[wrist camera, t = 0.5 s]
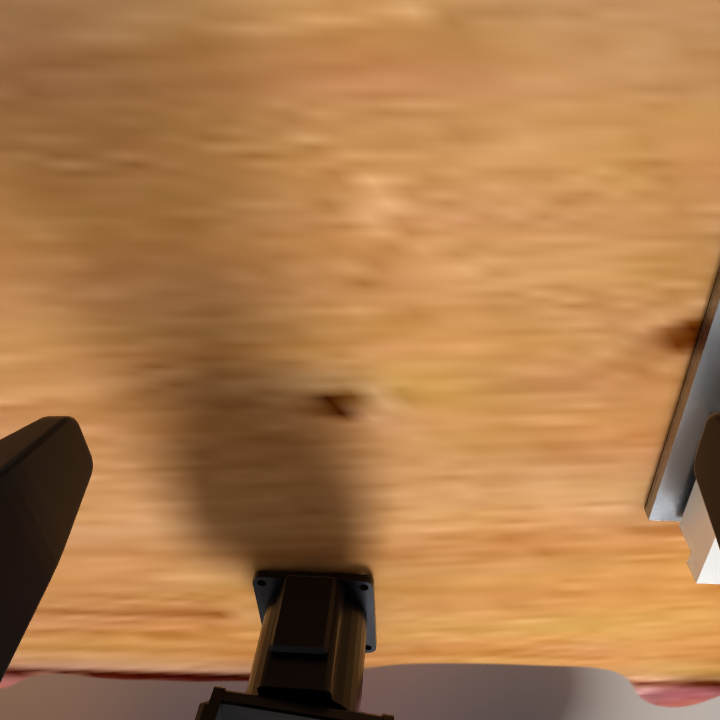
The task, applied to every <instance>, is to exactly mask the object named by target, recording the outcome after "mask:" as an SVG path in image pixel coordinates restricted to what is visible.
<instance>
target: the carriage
mask: <svg viewBox="0 0 720 720" xmlns="http://www.w3.org/2000/svg"><path fill="white" fill-rule="evenodd" d="M679 528H680V530H681V532H682V534H683V536H684V538H685V540H686V542H687V544H688V546H689V548H690V550H691V553H690V556H689V558H688V561H687V564H688V566H689V569H690V571H691V573H692V575H693V577H694V579H695V581H696V583H705V584H720V549H719V546H718V543H717V540H716V537H715V534H714V531H713V528H712V525H711V522H710V519H709V516H708V513H707V510H706V507H705V504H704V501H703V498H702V495H701V492H700V489H699V486H698V483H697V480H696V481H695V483H694V486H693V489H692V492H691V494H690V497H689V500H688V503H687V505H686V508H685V511H684V513H683V516H682V519H681V522H680V524H679Z"/></svg>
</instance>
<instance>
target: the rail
mask: <svg viewBox="0 0 720 720" xmlns="http://www.w3.org/2000/svg"><path fill="white" fill-rule="evenodd" d="M717 412H720V270H719V273H718V276H717V280H716V283H715V286H714V289H713V293H712V296H711V299H710V302H709V305H708V309H707V312H706V315H705V318H704V321H703V325H702V328H701V331H700V334H699V337H698V341H697V344H696V347H695V350H694V353H693V357H692V360H691V363H690V366H689V369H688V373H687V376H686V379H685V382H684V385H683V389H682V392H681V395H680V398H679V402H678V405H677V408H676V411H675V414H674V418H673V421H672V424H671V427H670V430H669V434H668V437H667V440H666V443H665V446H664V450H663V453H662V456H661V459H660V462H659V466H658V469H657V472H656V475H655V478H654V482H653V485H652V488H651V491H650V494H649V498H648V501H647V504H646V507H645V512H646V515H647V517H648V519H649V520H657V521H681V519H682V516H683V513H684V511H685V508H686V505H687V503H688V500H689V497H690V494H691V492H692V489H693V486H694V483H695V481H696V477H695V472H694V460H695V456H696V452H697V449H698V446H699V443H700V439H701V436H702V433H703V430H704V426H705V423H706V421H707V419H708V417H709V416H710V415H712V414H713V413H717Z"/></svg>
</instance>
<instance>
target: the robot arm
mask: <svg viewBox="0 0 720 720" xmlns="http://www.w3.org/2000/svg"><path fill="white" fill-rule="evenodd" d="M92 469H93V461H92V457H91V454H90V451H89V449H88V446H87V444H86V441H85V439H84V436H83V434H82V431H81V429H80V426H79V424H78V422H77V421H76V420H75V419H74V418H72V417H70V416H47V417H43V418H41V419H39V420H37V421H35V422H33V423H31V424H29V425H27V426H25V427H24V428H22V429H20V430H18V431H16V432H14V433H12V434H10V435H8V436H6V437H5V438H3V439H1V440H0V682H1V680H2V678H3V676H4V674H5V672H6V670H7V668H8V666H9V664H10V662H11V660H12V658H13V656H14V654H15V652H16V650H17V648H18V645H19V643H20V641H21V639H22V637H23V635H24V633H25V631H26V629H27V627H28V625H29V623H30V621H31V619H32V617H33V615H34V613H35V611H36V609H37V607H38V605H39V603H40V601H41V599H42V597H43V595H44V593H45V590H46V588H47V586H48V584H49V582H50V580H51V578H52V576H53V574H54V572H55V569H56V567H57V565H58V563H59V560H60V558H61V555H62V553H63V550H64V548H65V545H66V542H67V540H68V537H69V534H70V532H71V529H72V526H73V523H74V521H75V518H76V515H77V513H78V510H79V507H80V504H81V502H82V499H83V496H84V494H85V491H86V488H87V485H88V483H89V480H90V477H91V474H92ZM694 472H695V477H696V480H697V483H698V486H699V489H700V492H701V495H702V498H703V501H704V504H705V507H706V510H707V513H708V516H709V519H710V522H711V525H712V528H713V531H714V534H715V537H716V540H717V543H718V546H719V549H720V412H717V413H713V414H712V415H710V416H709V417H708V419H707V421H706V423H705V426H704V430H703V433H702V436H701V439H700V443H699V446H698V449H697V452H696V456H695V460H694ZM253 586H254V591H255V595H256V600H257V605H258V609H259V614H260V618H261V623H262V628H261V632H260V636H259V641H258V645H257V649H256V653H255V657H254V661H253V666H252V670H251V674H250V678H249V682H248V686H247V691H246V693H242V692H235V691H229V690H226V688H224V687H218V686H215V687H214V689H213V692H212V695H211V698H210V700H209V701H207V702H204V703H201V704H200V705H199V708H198V712H197V715H196V718H195V720H394V716H393V715H389V714H382V715H376V714H370V713H364V712H360V711H361V698H362V685H363V672H364V659H365V653H370V652H374V651H375V650H376V620H375V598H374V581H373V579H372V578H371V577H369V576H367V575H351V574H327V573H303V572H279V571H258V572H256V573H255V575H254V578H253Z"/></svg>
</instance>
